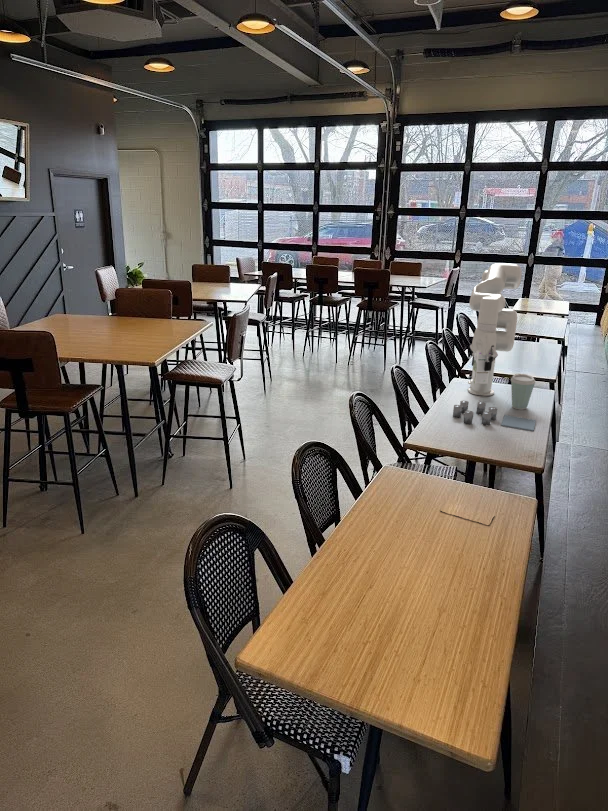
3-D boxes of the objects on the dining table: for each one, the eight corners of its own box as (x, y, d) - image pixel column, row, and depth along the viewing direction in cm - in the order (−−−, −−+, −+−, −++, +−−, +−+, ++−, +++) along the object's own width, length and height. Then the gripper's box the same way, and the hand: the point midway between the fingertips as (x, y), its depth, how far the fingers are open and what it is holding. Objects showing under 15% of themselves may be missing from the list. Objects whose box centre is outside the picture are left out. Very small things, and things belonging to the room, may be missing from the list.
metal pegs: (445, 413, 244) (446, 402, 243) (475, 408, 251) (476, 398, 249) (472, 427, 228) (474, 416, 227) (503, 422, 235) (505, 412, 233)
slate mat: (501, 425, 231) (501, 424, 231) (504, 416, 242) (504, 414, 242) (533, 431, 226) (533, 430, 226) (535, 421, 237) (535, 419, 237)
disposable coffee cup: (534, 411, 249) (539, 380, 243) (510, 411, 249) (515, 379, 244) (525, 403, 259) (531, 373, 253) (503, 403, 259) (507, 373, 254)
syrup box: (488, 384, 231) (492, 351, 226) (474, 383, 231) (478, 350, 226) (484, 380, 237) (488, 347, 232) (470, 379, 237) (474, 347, 232)
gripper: (465, 323, 232) (460, 363, 238) (493, 332, 217) (487, 374, 223) (480, 322, 234) (474, 361, 241) (508, 330, 220) (502, 372, 226)
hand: (481, 367), depth 232 cm, fingers closed on syrup box, 7 cm apart
